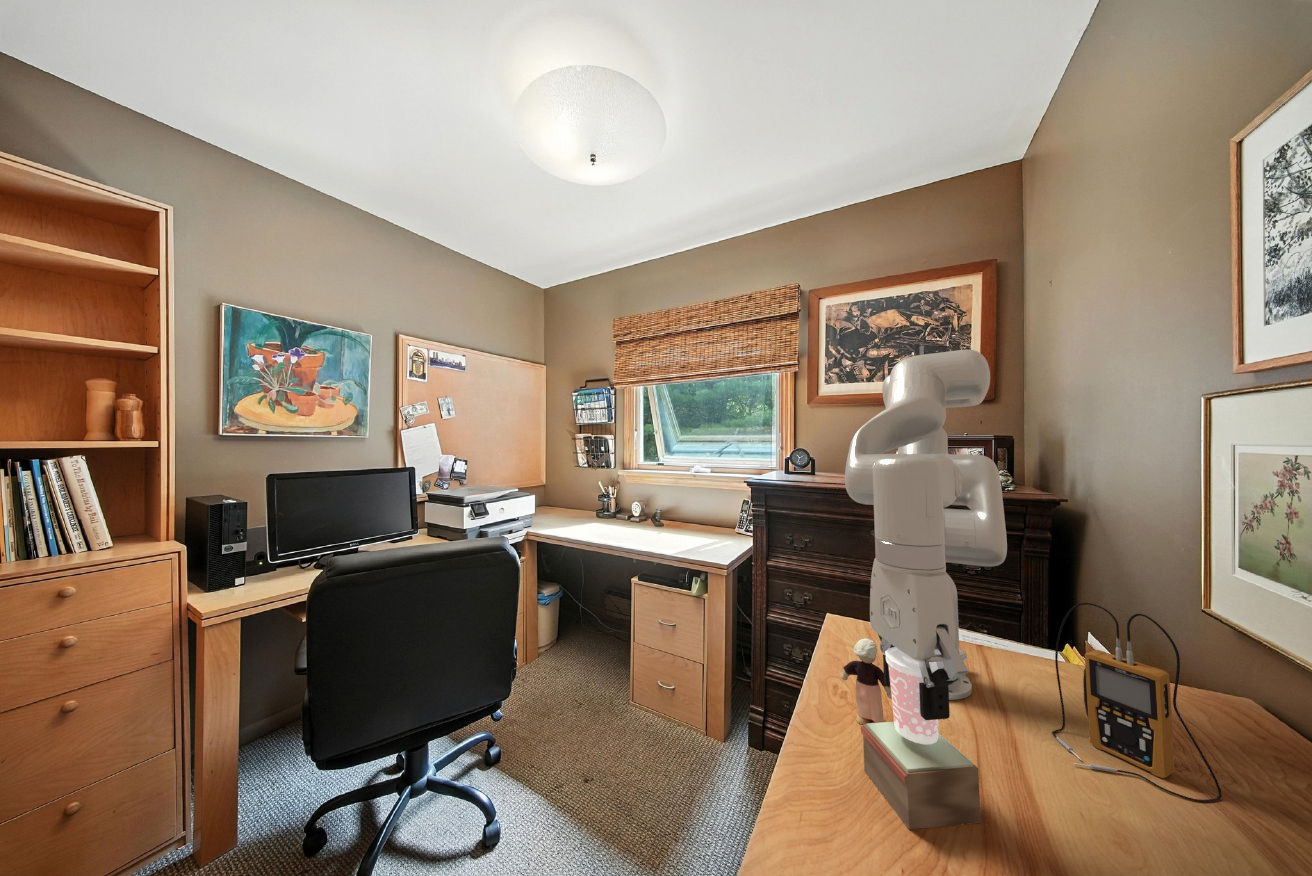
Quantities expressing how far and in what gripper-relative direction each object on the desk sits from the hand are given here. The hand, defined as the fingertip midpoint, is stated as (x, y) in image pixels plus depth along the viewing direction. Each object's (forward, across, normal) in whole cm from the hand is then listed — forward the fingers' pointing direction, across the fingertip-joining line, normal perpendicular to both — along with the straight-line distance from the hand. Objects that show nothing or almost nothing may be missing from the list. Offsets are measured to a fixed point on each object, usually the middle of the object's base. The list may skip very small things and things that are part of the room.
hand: (914, 699), depth 52 cm
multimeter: (+12, -1, +29) cm, 31 cm away
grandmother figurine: (+12, -14, +2) cm, 18 cm away
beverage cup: (+4, 0, 0) cm, 4 cm away
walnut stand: (+11, 0, 0) cm, 11 cm away
